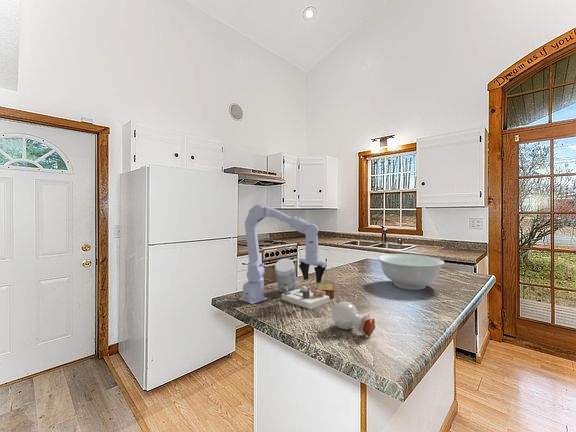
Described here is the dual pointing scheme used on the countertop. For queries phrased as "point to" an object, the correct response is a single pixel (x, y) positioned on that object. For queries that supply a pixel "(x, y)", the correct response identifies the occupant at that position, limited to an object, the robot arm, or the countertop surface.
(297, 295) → the console
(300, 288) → the button
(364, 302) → the countertop surface
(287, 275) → the supplement tub
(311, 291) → the rocker
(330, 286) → the carton
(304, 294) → the slider
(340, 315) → the potion bottle
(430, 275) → the bowl
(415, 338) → the countertop surface
